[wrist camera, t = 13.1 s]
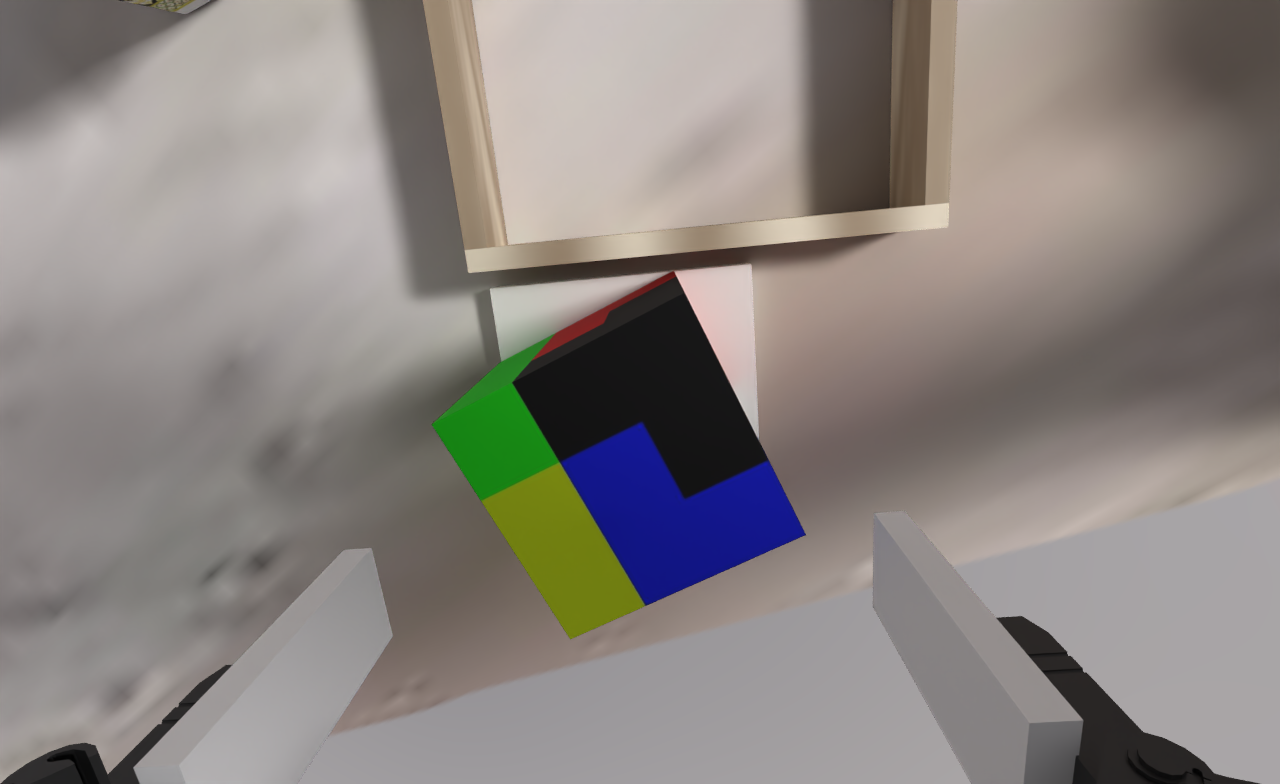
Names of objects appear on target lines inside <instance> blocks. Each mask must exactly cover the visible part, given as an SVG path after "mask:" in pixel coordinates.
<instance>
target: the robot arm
mask: <svg viewBox="0 0 1280 784" xmlns="http://www.w3.org/2000/svg"><path fill="white" fill-rule="evenodd" d="M873 608H874V610H875V611H876V613H877V615H878V617H879V619H880V621H881V622H882V624H883V626H884V627H885V629H886V631H887V633H888V635H889V637H890V638H891V640H892V642H893V644H894V645H895V647H896V649H897V651H898V653H899V655H900V656H901V658H902V660H903V662H904V664H905V665H906V667H907V669H908V671H909V673H910V674H911V676H912V678H913V680H914V682H915V683H916V685H917V687H918V689H919V691H920V692H921V694H922V696H923V698H924V700H925V701H926V703H927V705H928V707H929V708H930V710H931V712H932V714H933V716H934V718H935V719H936V721H937V723H938V725H939V727H940V728H941V730H942V732H943V734H944V735H945V737H946V739H947V741H948V743H949V745H950V746H951V748H952V750H953V752H954V754H955V755H956V757H957V759H958V761H959V763H960V764H961V766H962V768H963V770H964V772H965V773H966V775H967V777H968V779H969V781H970V782H971V784H1259V783H1254V782H1249V781H1244V780H1239V779H1234V778H1229V777H1225V776H1221V775H1218V774H1214V773H1213V772H1212V771H1211V769H1210V768H1209V767H1208V766H1207V765H1206V764H1205V762H1203V761H1202V760H1201V759H1199V758H1198V757H1196V756H1195V755H1194V754H1192V753H1191V752H1189V751H1188V750H1186V749H1185V748H1183V747H1181V746H1179V745H1177V744H1175V743H1173V742H1171V741H1169V740H1167V739H1165V738H1162V737H1159V736H1155V735H1151V734H1148V733H1144V732H1143V731H1141V729H1140V728H1139V727H1138V726H1137V725H1136V724H1135V723H1134V722H1133V721H1132V720H1131V719H1130V718H1129V717H1128V716H1127V715H1126V714H1125V713H1124V711H1122V709H1121V708H1120V707H1119V706H1118V705H1117V704H1116V703H1115V702H1114V701H1113V700H1112V699H1111V698H1110V697H1109V696H1108V695H1107V694H1106V693H1105V691H1104V690H1103V689H1102V688H1101V687H1100V686H1099V685H1098V684H1097V683H1096V682H1095V681H1094V680H1093V679H1092V678H1091V677H1090V676H1089V675H1088V674H1087V673H1084V672H1083V669H1082V667H1081V666H1080V665H1079V664H1078V663H1077V662H1076V661H1075V660H1074V659H1073V658H1072V657H1071V656H1068V654H1067V651H1066V650H1064V648H1063V647H1062V646H1061V645H1060V644H1059V643H1058V642H1057V641H1056V640H1055V639H1054V638H1053V637H1052V636H1051V635H1050V634H1049V633H1048V632H1047V631H1045V630H1044V629H1042V628H1040V627H1039V626H1037V625H1035V624H1034V623H1032V622H1030V621H1029V620H1027V619H1026V618H1024V617H1022V616H1018V617H1002V618H996V617H995V616H994V615H993V614H992V613H991V611H990V610H989V609H988V608H987V607H986V606H985V604H984V603H983V602H982V601H981V600H980V599H979V597H978V596H977V595H976V594H975V593H974V591H973V590H972V589H971V588H970V587H969V586H968V584H967V583H966V582H965V581H964V580H963V579H962V577H961V576H960V575H959V574H958V573H957V572H956V570H955V569H954V568H953V567H952V566H951V564H950V563H949V562H948V561H947V560H946V559H945V557H944V556H943V555H942V554H941V553H940V552H939V550H938V549H937V548H936V547H935V546H934V545H933V543H932V542H931V541H930V540H929V539H928V538H927V536H926V535H925V534H924V533H923V532H922V530H921V529H920V528H919V527H918V526H917V525H916V523H915V522H914V521H913V520H912V519H911V518H910V516H909V515H908V514H907V513H906V512H905V511H894V512H880V513H874V548H873ZM392 637H393V634H392V630H391V626H390V622H389V618H388V613H387V609H386V605H385V601H384V597H383V593H382V588H381V584H380V580H379V576H378V572H377V568H376V564H375V559H374V555H373V551H372V548H363V549H349V550H343V551H342V552H341V553H340V554H339V555H338V556H337V557H336V558H335V560H334V561H333V562H332V563H331V564H330V565H329V566H328V567H327V568H326V569H325V570H324V571H323V572H322V573H321V574H320V575H319V576H318V577H317V578H316V579H315V580H314V581H313V582H312V583H311V584H310V585H309V586H308V587H307V588H306V590H305V591H304V592H303V593H302V594H301V595H300V596H299V597H298V598H297V599H296V600H295V601H294V602H293V603H292V604H291V605H290V606H289V607H288V608H287V609H286V610H285V611H284V612H283V613H282V614H281V615H280V616H279V617H278V619H277V620H276V621H275V622H274V623H273V624H272V625H271V626H270V627H269V628H268V629H267V630H266V631H265V632H264V633H263V634H262V635H261V636H260V637H259V638H258V639H257V640H256V641H255V642H254V643H253V644H252V645H251V646H250V647H249V649H248V650H247V651H246V652H245V653H244V654H243V655H242V656H241V657H240V658H239V659H238V660H237V661H236V662H235V663H234V664H233V665H225V666H224V667H222V668H221V669H220V670H218V671H217V672H215V673H214V674H212V675H211V676H209V677H208V678H206V679H205V680H203V681H202V682H200V683H199V684H198V685H197V686H196V687H195V688H194V689H193V690H192V691H191V692H190V693H189V694H188V695H187V696H186V697H185V698H184V699H183V700H182V701H181V702H180V703H179V707H175V708H174V709H173V710H172V711H171V712H170V713H169V714H168V715H167V716H166V717H165V718H164V719H163V720H162V724H158V725H157V726H156V727H155V728H154V729H153V730H152V731H151V732H150V733H149V734H148V735H147V736H146V737H145V738H144V739H143V740H142V741H141V742H140V743H139V744H138V745H137V746H136V747H135V748H134V749H133V750H132V751H131V752H130V753H129V754H128V755H127V756H126V757H125V758H124V759H123V760H122V761H121V762H120V763H119V764H118V765H117V766H116V767H115V768H114V769H113V770H112V771H111V772H110V773H109V774H108V775H107V772H106V770H105V767H104V765H103V763H102V760H101V758H100V756H99V753H98V751H97V748H96V746H95V745H91V744H88V743H81V744H73V745H68V746H65V747H62V748H59V749H57V750H54V751H51V752H49V753H47V754H45V755H43V756H41V757H39V758H37V759H35V760H33V761H31V762H29V763H27V764H26V765H24V766H23V767H22V768H20V769H19V770H17V771H16V772H14V773H13V774H11V775H10V776H8V777H7V778H6V779H5V780H4V781H3V782H2V783H1V784H298V782H299V781H300V779H301V778H302V776H303V775H304V773H305V771H306V770H307V768H308V767H309V765H310V764H311V762H312V761H313V759H314V757H315V756H316V754H317V753H318V751H319V750H320V748H321V746H322V745H323V744H324V742H325V741H326V739H327V737H328V736H329V734H330V733H331V731H332V730H333V728H334V727H335V725H336V723H337V722H338V720H339V719H340V717H341V716H342V714H343V713H344V711H345V710H346V708H347V706H348V705H349V703H350V702H351V700H352V699H353V697H354V696H355V694H356V693H357V691H358V689H359V688H360V686H361V685H362V683H363V682H364V680H365V679H366V677H367V675H368V674H369V672H370V671H371V669H372V668H373V666H374V665H375V663H376V662H377V660H378V658H379V657H380V655H381V654H382V652H383V651H384V649H385V648H386V646H387V645H388V643H389V641H390V640H391V638H392Z"/></svg>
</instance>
